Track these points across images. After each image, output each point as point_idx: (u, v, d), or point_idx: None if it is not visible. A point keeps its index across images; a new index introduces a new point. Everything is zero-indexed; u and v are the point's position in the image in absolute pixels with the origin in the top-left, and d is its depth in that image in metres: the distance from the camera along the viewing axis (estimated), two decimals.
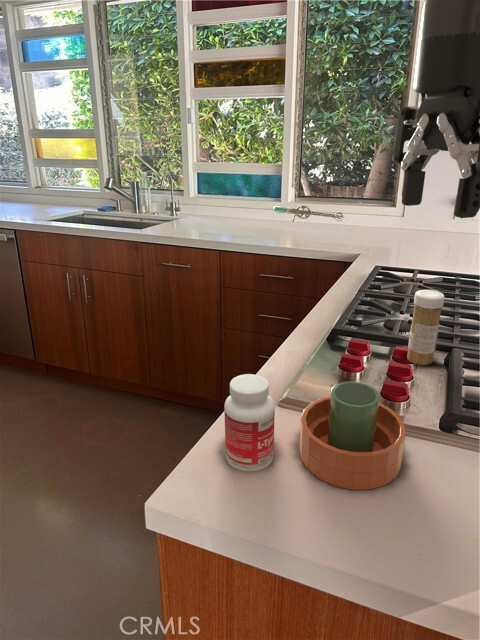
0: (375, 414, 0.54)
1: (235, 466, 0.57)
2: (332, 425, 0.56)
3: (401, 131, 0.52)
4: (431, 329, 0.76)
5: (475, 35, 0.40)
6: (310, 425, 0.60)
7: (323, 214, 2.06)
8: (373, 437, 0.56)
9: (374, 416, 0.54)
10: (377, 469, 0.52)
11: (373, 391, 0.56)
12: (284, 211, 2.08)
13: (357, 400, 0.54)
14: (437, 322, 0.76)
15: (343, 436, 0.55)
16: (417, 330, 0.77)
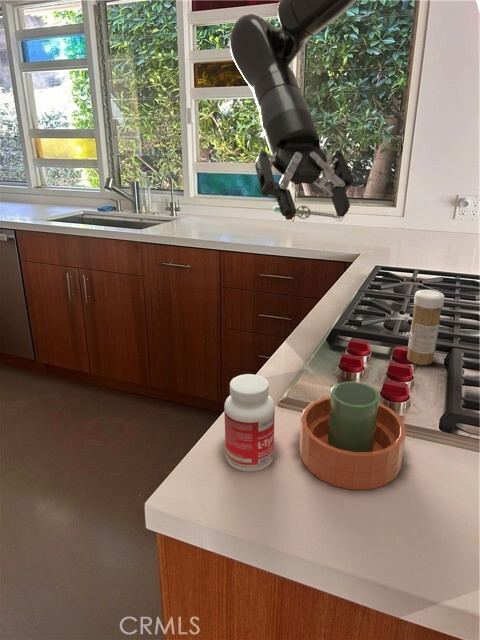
0: (375, 414, 0.54)
1: (235, 466, 0.57)
2: (332, 425, 0.56)
3: None
4: (431, 329, 0.76)
5: (265, 135, 0.71)
6: (310, 425, 0.60)
7: (323, 214, 2.06)
8: (373, 437, 0.56)
9: (374, 416, 0.54)
10: (377, 469, 0.52)
11: (373, 391, 0.56)
12: None
13: (357, 400, 0.54)
14: (437, 322, 0.76)
15: (343, 436, 0.55)
16: (417, 330, 0.77)
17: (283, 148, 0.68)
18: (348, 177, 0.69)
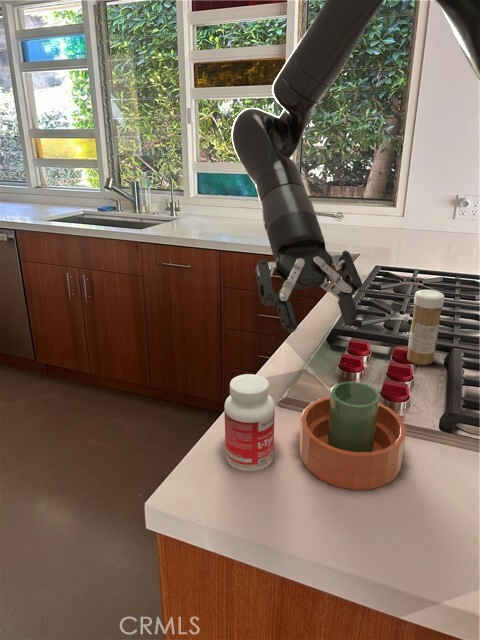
0: (375, 414, 0.54)
1: (235, 466, 0.57)
2: (332, 425, 0.56)
3: None
4: (431, 329, 0.76)
5: None
6: (310, 425, 0.60)
7: (323, 214, 2.06)
8: (373, 437, 0.56)
9: (374, 416, 0.54)
10: (377, 469, 0.52)
11: (373, 391, 0.56)
12: None
13: (357, 400, 0.54)
14: (437, 322, 0.76)
15: (343, 436, 0.55)
16: (417, 330, 0.77)
17: (285, 253, 0.64)
18: (356, 281, 0.64)
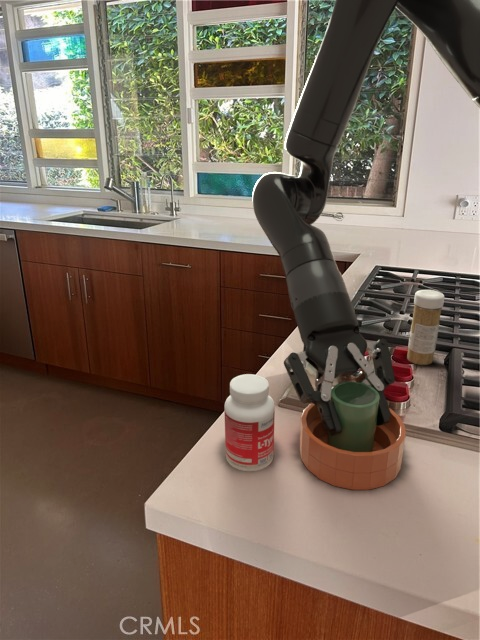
0: (375, 414, 0.54)
1: (235, 466, 0.57)
2: None
3: None
4: (431, 329, 0.76)
5: (294, 314, 0.61)
6: (310, 425, 0.60)
7: (323, 214, 2.06)
8: (373, 437, 0.56)
9: (374, 416, 0.54)
10: (377, 469, 0.52)
11: (373, 391, 0.56)
12: None
13: (357, 400, 0.54)
14: (437, 322, 0.76)
15: (343, 436, 0.55)
16: (417, 330, 0.77)
17: (315, 339, 0.57)
18: (389, 375, 0.57)
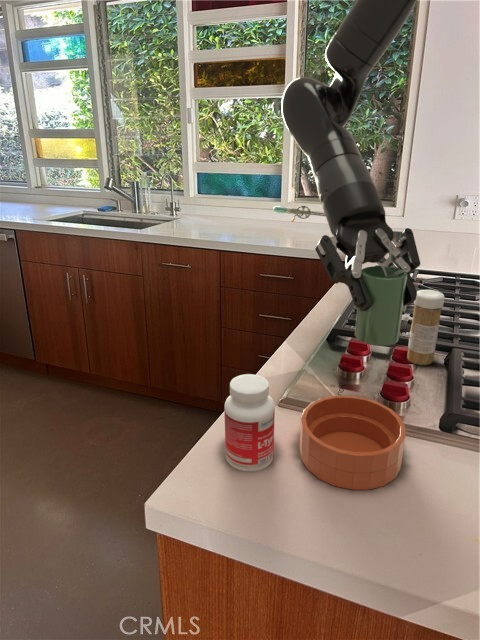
0: (403, 289, 0.57)
1: (235, 466, 0.57)
2: None
3: None
4: (431, 329, 0.76)
5: (323, 208, 0.65)
6: (310, 425, 0.60)
7: (323, 214, 2.06)
8: (400, 314, 0.59)
9: (402, 291, 0.57)
10: (377, 469, 0.52)
11: (401, 270, 0.59)
12: (284, 211, 2.08)
13: (386, 275, 0.57)
14: (437, 322, 0.76)
15: (372, 311, 0.58)
16: (417, 330, 0.77)
17: (345, 225, 0.61)
18: (415, 259, 0.61)
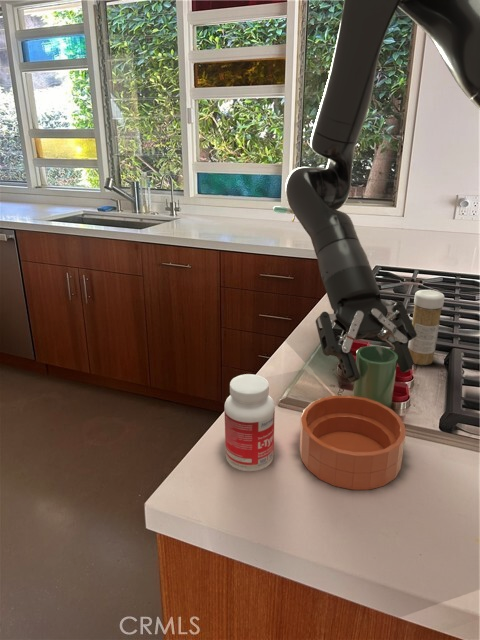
0: (394, 371, 0.65)
1: (235, 466, 0.57)
2: (357, 381, 0.67)
3: None
4: (431, 329, 0.76)
5: (324, 285, 0.72)
6: (310, 425, 0.60)
7: None
8: (392, 391, 0.66)
9: (393, 372, 0.65)
10: (377, 469, 0.52)
11: (392, 352, 0.66)
12: (284, 211, 2.08)
13: (379, 359, 0.64)
14: (437, 322, 0.76)
15: (367, 389, 0.65)
16: (417, 330, 0.77)
17: (344, 305, 0.68)
18: (411, 331, 0.68)
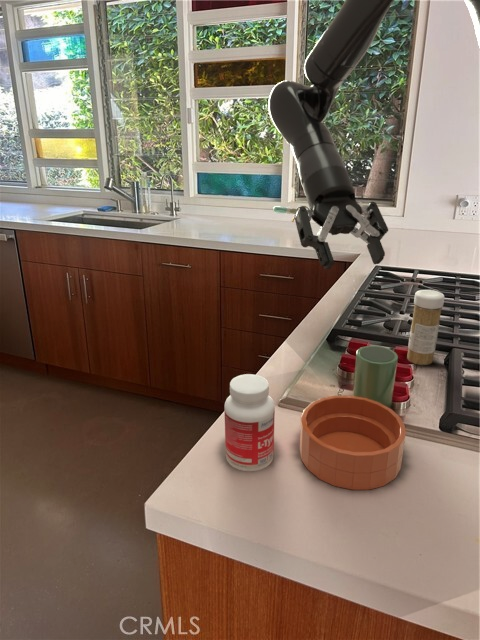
0: (394, 371, 0.65)
1: (235, 466, 0.57)
2: (357, 381, 0.67)
3: None
4: (431, 329, 0.76)
5: None
6: (310, 425, 0.60)
7: None
8: (392, 391, 0.66)
9: (393, 372, 0.65)
10: (377, 469, 0.52)
11: (392, 352, 0.66)
12: (284, 211, 2.08)
13: (379, 359, 0.64)
14: (437, 322, 0.76)
15: (367, 389, 0.65)
16: (417, 330, 0.77)
17: (321, 202, 0.73)
18: (383, 226, 0.74)
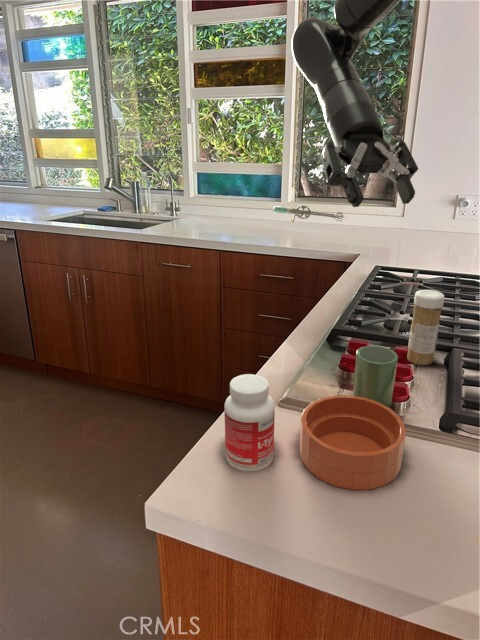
0: (394, 371, 0.65)
1: (235, 466, 0.57)
2: (357, 381, 0.67)
3: None
4: (431, 329, 0.76)
5: (329, 128, 0.74)
6: (310, 425, 0.60)
7: (323, 214, 2.06)
8: (392, 391, 0.66)
9: (393, 372, 0.65)
10: (377, 469, 0.52)
11: (392, 352, 0.66)
12: (284, 211, 2.08)
13: (379, 359, 0.64)
14: (437, 322, 0.76)
15: (367, 389, 0.65)
16: (417, 330, 0.77)
17: (348, 139, 0.70)
18: (413, 165, 0.71)
